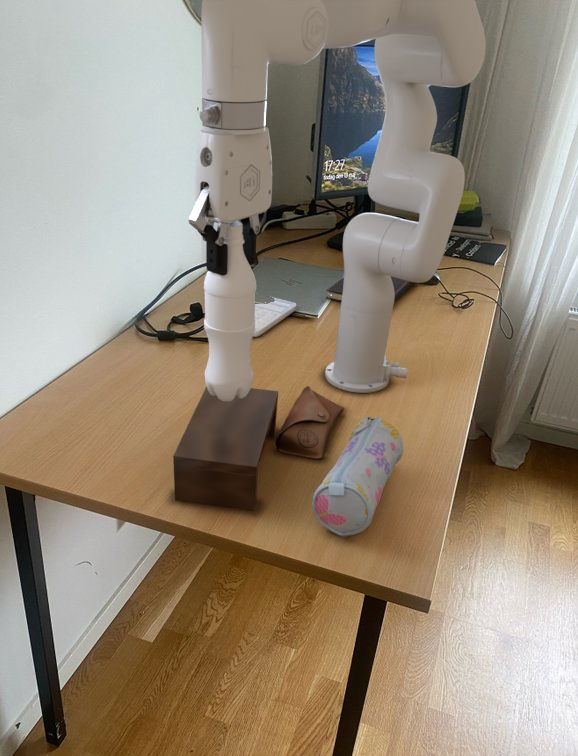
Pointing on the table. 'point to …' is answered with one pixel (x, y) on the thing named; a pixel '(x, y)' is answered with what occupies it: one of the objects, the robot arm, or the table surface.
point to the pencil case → (358, 478)
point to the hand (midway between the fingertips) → (231, 266)
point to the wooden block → (224, 449)
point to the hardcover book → (398, 284)
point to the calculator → (271, 314)
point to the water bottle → (230, 321)
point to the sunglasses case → (308, 425)
